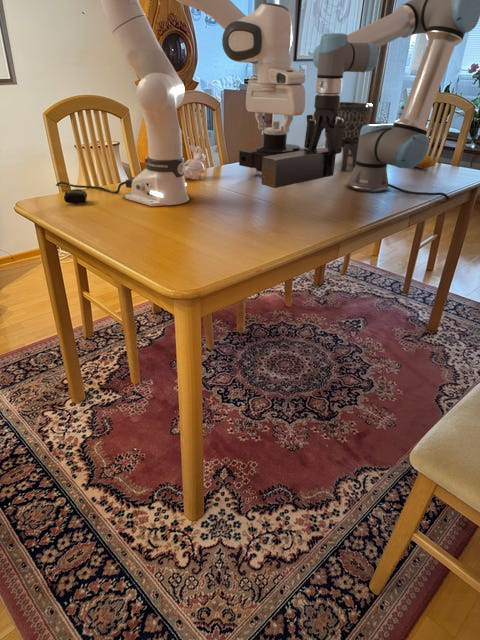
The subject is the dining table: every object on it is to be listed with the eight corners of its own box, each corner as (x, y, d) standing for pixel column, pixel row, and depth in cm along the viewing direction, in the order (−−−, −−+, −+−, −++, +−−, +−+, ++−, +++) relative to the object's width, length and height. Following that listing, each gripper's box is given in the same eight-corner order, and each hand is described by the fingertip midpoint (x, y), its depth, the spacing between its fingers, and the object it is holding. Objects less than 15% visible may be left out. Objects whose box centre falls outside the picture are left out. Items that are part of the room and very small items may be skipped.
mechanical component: (240, 120, 182) (283, 115, 202) (239, 174, 192) (280, 164, 212) (283, 126, 170) (325, 120, 190) (280, 183, 180) (320, 171, 200)
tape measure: (64, 205, 148) (62, 194, 146) (68, 199, 154) (66, 188, 152) (86, 205, 149) (84, 193, 147) (89, 199, 155) (87, 188, 153)
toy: (410, 161, 206) (404, 154, 219) (412, 175, 209) (406, 167, 222) (436, 153, 203) (428, 146, 216) (438, 167, 206) (430, 160, 219)
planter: (313, 167, 208) (319, 103, 195) (331, 160, 222) (338, 101, 209) (353, 173, 199) (362, 107, 185) (369, 166, 213) (379, 104, 199)
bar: (319, 172, 151) (322, 147, 147) (333, 175, 147) (336, 150, 143) (261, 184, 136) (262, 156, 132) (275, 188, 132) (276, 159, 128)
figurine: (211, 176, 188) (211, 144, 182) (188, 183, 178) (187, 149, 171) (196, 173, 192) (195, 142, 186) (172, 180, 181) (170, 146, 175)
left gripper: (240, 75, 127) (241, 128, 134) (293, 76, 114) (291, 135, 121) (256, 75, 131) (256, 126, 138) (310, 75, 117) (307, 133, 124)
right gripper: (296, 92, 139) (290, 170, 151) (345, 97, 127) (335, 181, 139) (312, 92, 143) (305, 167, 155) (361, 96, 131) (350, 177, 143)
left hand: (273, 131), depth 129 cm, fingers open, 8 cm apart
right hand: (319, 173), depth 147 cm, fingers closed on bar, 6 cm apart
